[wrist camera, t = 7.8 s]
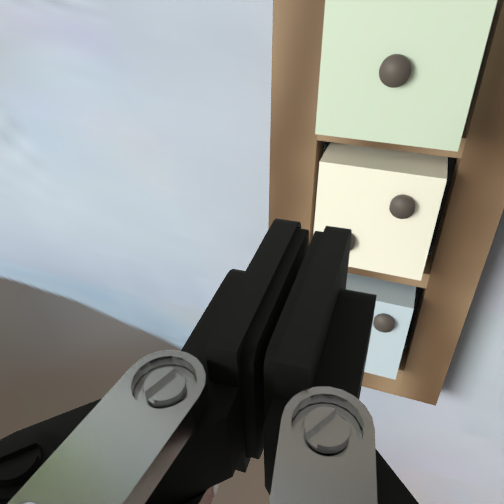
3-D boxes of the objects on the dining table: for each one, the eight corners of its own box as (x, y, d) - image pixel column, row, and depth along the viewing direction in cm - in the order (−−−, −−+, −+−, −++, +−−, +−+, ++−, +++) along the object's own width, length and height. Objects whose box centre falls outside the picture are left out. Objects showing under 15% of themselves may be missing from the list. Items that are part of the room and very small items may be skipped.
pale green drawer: (495, -24, 18) (501, -14, 16) (457, 126, 22) (457, 154, 19) (341, -28, 20) (325, -20, 18) (328, 112, 24) (313, 136, 21)
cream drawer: (448, 154, 24) (446, 181, 22) (423, 250, 28) (420, 284, 25) (331, 139, 26) (318, 163, 23) (322, 232, 29) (309, 262, 27)
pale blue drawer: (417, 277, 29) (413, 312, 26) (399, 346, 32) (395, 383, 30) (320, 258, 31) (307, 289, 28) (313, 326, 34) (301, 359, 32)
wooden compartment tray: (604, -120, 18) (619, -124, 16) (436, 382, 34) (435, 405, 32) (288, -114, 21) (275, -116, 19) (273, 342, 37) (266, 360, 35)
